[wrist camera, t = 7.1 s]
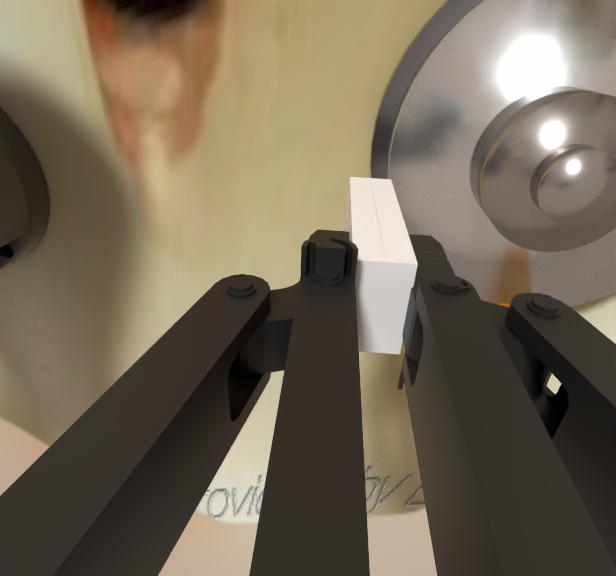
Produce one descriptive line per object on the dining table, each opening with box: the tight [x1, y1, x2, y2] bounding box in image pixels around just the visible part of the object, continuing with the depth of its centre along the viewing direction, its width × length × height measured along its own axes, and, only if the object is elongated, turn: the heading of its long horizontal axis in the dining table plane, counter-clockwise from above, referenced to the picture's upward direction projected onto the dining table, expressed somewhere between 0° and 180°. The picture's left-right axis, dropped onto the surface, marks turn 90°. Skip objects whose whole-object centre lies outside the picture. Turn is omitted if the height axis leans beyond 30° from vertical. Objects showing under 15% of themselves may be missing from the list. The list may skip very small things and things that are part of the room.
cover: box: [470, 86, 616, 252], centre depth 22 cm, size 8×8×5 cm
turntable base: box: [370, 0, 480, 179], centre depth 26 cm, size 22×22×1 cm
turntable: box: [387, 0, 616, 307], centre depth 26 cm, size 20×26×3 cm
